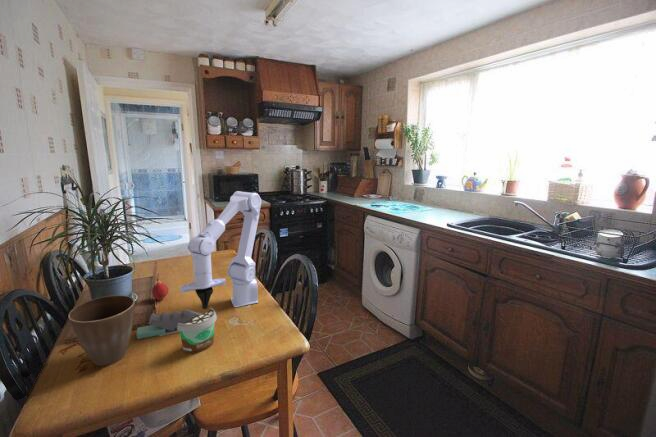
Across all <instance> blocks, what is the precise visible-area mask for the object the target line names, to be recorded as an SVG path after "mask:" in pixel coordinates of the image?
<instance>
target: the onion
mask: <svg viewBox="0 0 656 437" xmlns="http://www.w3.org/2000/svg"><path fill="white" fill-rule="evenodd" d="M168 294H169V287H168V285H167V284H165V283H163V281H162V280H158V282H157V283H156V284H155V285H154V286H153V287H152V289H151V295H152V297H153V298H154V299H156V300H159V301H162V300H164V299H165V298H166V297H167V295H168Z"/></svg>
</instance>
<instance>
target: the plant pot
mask: <svg viewBox="0 0 656 437" xmlns="http://www.w3.org/2000/svg"><path fill="white" fill-rule="evenodd" d="M134 316H135V299H134V298H133V297H132V296H129V295H123V294H120V295H119V294H116V295H105V296H101V297H98V298H93V299H91V300H87V301H85V302H83V303H80V304H79V305H77V306H75V307H74V308H73V309H71V310H70V312H69V313H68V320H69V322H70V325H71V327H72V329H73V332H74V334H75V337H76V339H77V341H78V342H79V344H80V346H81V347H82V349H83V350H84V352H85V354H86V355H87V357H89V359H90V360H91V361H92V363H94V365H95V366H98V367H105V366H110V365H113V364H115V363H118V362H119V361H120V360H122V359H124V357H125V355H126V352H127V350H128V347H129V343H130V340H131V335H132V330H133V323H134Z"/></svg>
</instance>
